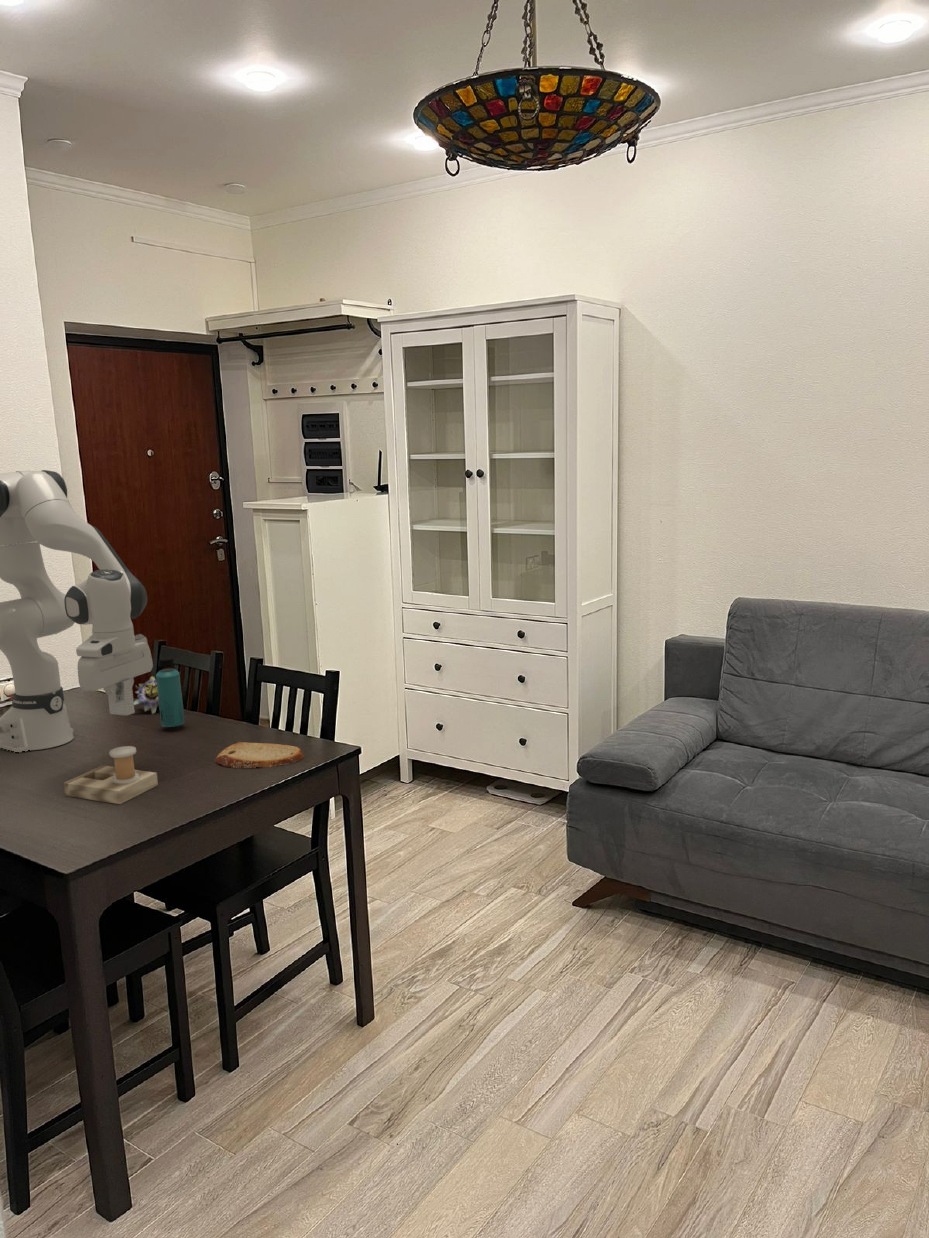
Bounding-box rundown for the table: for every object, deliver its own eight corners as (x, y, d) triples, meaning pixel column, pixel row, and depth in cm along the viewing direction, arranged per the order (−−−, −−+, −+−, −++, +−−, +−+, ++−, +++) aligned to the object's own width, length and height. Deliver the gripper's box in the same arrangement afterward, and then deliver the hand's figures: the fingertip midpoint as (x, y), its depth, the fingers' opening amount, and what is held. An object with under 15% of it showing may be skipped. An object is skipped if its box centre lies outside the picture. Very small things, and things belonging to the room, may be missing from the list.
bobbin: (107, 782, 210) (103, 752, 209) (125, 774, 215) (122, 745, 214) (126, 785, 208) (123, 755, 207) (144, 777, 213) (141, 747, 212)
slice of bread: (310, 759, 231) (309, 744, 231) (244, 778, 220) (243, 763, 219) (272, 743, 244) (271, 729, 244) (208, 761, 233) (207, 746, 232)
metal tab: (110, 713, 218) (106, 680, 216) (117, 710, 220) (114, 677, 219) (127, 715, 216) (123, 681, 214) (134, 712, 218) (131, 678, 217)
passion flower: (155, 731, 276) (128, 703, 270) (152, 715, 285) (125, 688, 279) (187, 706, 277) (160, 679, 271) (182, 691, 286) (156, 664, 280)
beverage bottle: (190, 727, 260) (184, 656, 256) (171, 733, 254) (164, 661, 251) (174, 723, 263) (167, 654, 260) (155, 730, 258) (148, 659, 254)
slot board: (64, 795, 212) (63, 782, 211) (104, 777, 223) (102, 765, 222) (120, 804, 206) (118, 791, 205) (157, 785, 216) (156, 772, 216)
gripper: (134, 631, 225) (140, 687, 228) (70, 650, 207) (77, 711, 209) (156, 632, 223) (161, 689, 226) (92, 651, 204) (99, 713, 207)
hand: (120, 700), depth 217 cm, fingers closed on metal tab, 2 cm apart
